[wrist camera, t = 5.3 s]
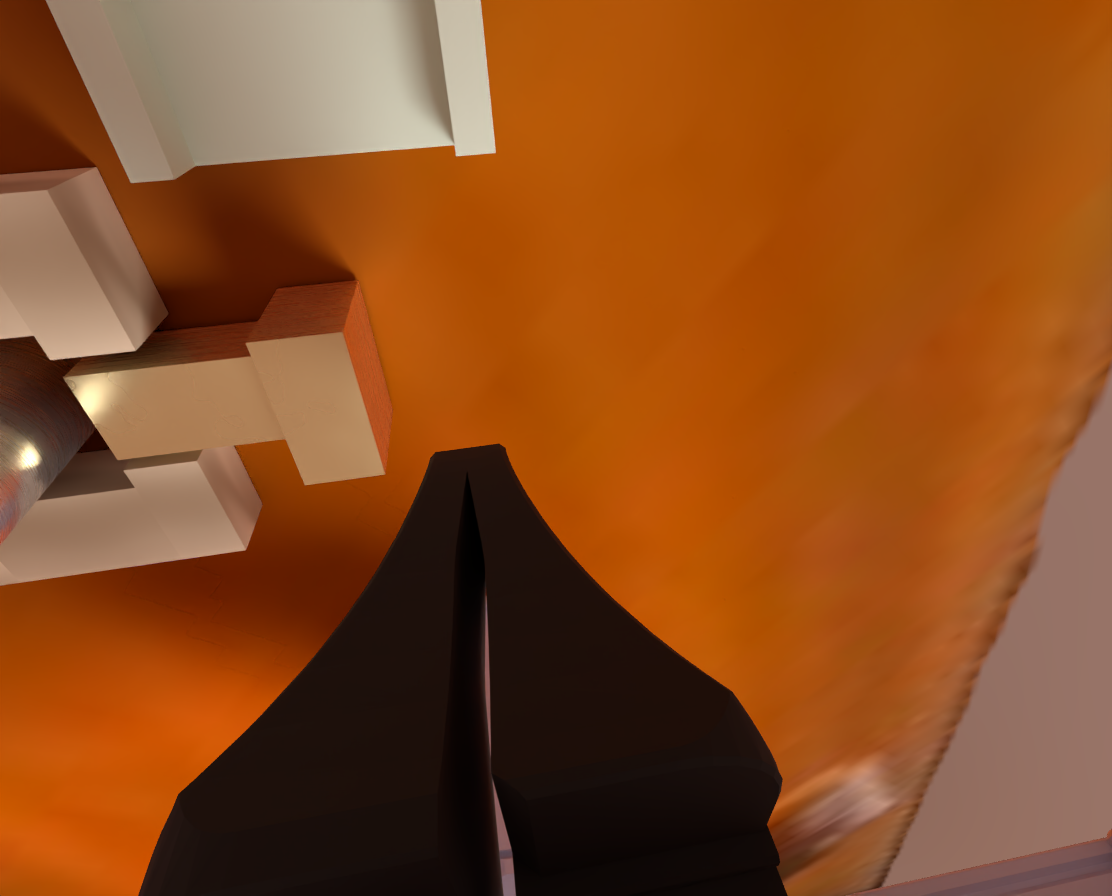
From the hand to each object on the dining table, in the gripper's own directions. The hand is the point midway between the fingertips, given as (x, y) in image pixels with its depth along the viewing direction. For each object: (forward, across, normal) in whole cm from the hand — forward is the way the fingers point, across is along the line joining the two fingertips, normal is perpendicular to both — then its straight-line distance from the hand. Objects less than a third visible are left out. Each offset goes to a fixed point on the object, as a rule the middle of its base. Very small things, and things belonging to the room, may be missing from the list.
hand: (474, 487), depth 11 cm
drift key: (+6, +6, 0) cm, 9 cm away
